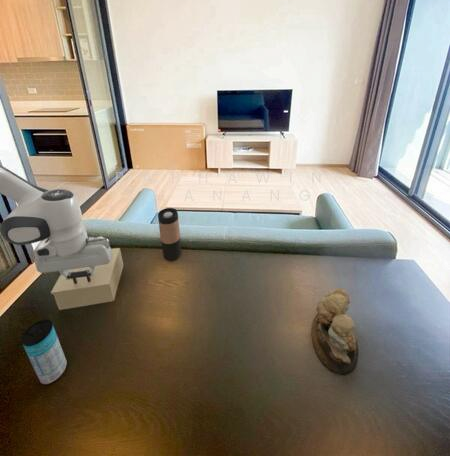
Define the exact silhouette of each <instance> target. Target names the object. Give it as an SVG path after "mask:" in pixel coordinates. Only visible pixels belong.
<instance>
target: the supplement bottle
mask: <svg viewBox="0 0 450 456" xmlns="http://www.w3.org/2000/svg"><path fill="white" fill-rule="evenodd" d="M20 341H21V344H22V347H23V348H24V351H25V353H26V356H27V358H28V359H29V362H30V364H31V366H32V368H33V370H34V372H35V375H36V376H37V378H38V381H39V383H41V384H42V385H50V384H53V383H55V382H56V381H58V380H59V379H60V378H61V377H62V376H63V374H65V371H66V368H67V364H68V363H67V361H68V360H67V359H66V356H65V353H64V350H63V348H62V345H61V342H60V340H59V337H58V335H57V332H56V329H55V327H54V324H53V322H52V320H50V319H41V320H38V321H36V322H35V323H33V324H31V325H30V326H29V327H28V328H27V329H26V330H25V331H24V332H23V334H22V336H21V339H20Z"/></svg>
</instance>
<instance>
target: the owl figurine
mask: <svg viewBox="0 0 450 456" xmlns="http://www.w3.org/2000/svg"><path fill="white" fill-rule="evenodd" d="M350 304H351V300H350V297H349V294H348V293H347V292H346V291H345V290H344V289H340V288H339V289H338V288H337V289H334V290H332V289H331V290H328V291H327V293H326V294H325V295H324V297H321V298H320V299H319V300H318V302H317V305H316V307H315V311H316V312H317V313H316V315H315V316H314V318H313V321H312V325H311V339H312V345H313V348H314V351H315V353H316V355H317V357H318V359H319V361H320V362H321V363H322V365H323V366H324V367H325V368H327V369H328V370H329V371H330V372H332V373H335V374H337V375H338V374H339V375H343V376H345V375H350V374H351V373H352V372H353V371H354V370H355V369H356V367H357V364H358V360H359V346H358V341H357V337H356V334H355V332H354V330H355V323H354V321H353V318H352V317H350V316H348V315H347V314H346V312H347V311H348V310H349V309H350Z"/></svg>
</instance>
